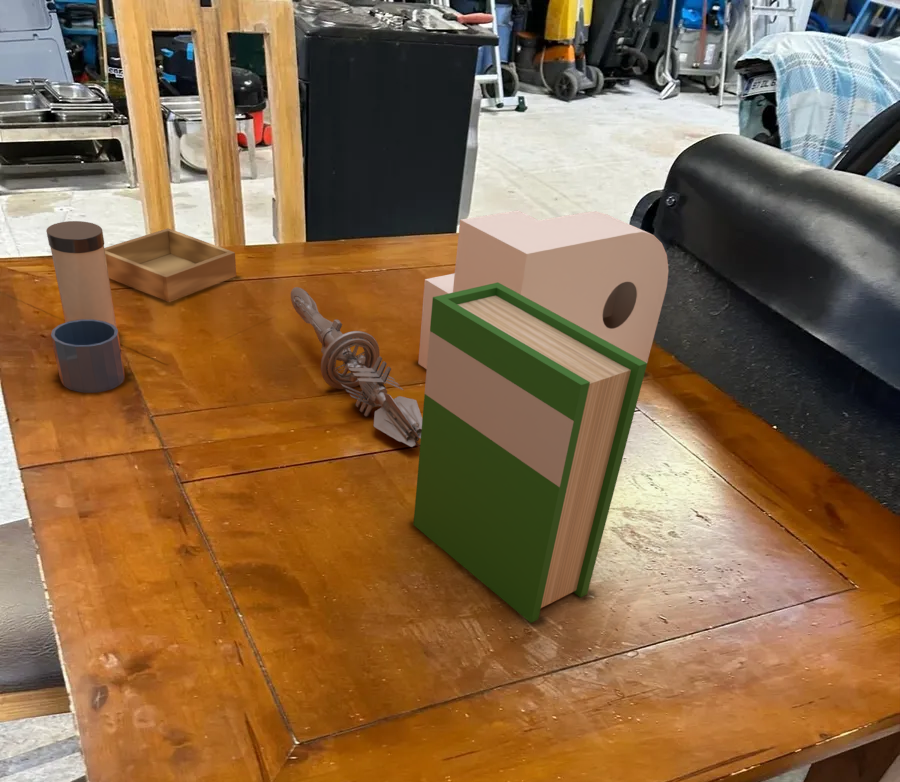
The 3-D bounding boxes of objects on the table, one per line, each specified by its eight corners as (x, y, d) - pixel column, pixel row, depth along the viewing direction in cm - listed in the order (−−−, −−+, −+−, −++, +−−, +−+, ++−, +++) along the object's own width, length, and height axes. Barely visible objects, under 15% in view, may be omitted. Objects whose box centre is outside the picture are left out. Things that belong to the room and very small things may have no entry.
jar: (57, 341, 113) (34, 229, 104) (96, 326, 117) (77, 217, 108) (91, 356, 111) (70, 243, 102) (130, 341, 115) (113, 230, 106)
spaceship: (327, 270, 118) (276, 255, 113) (461, 417, 99) (407, 406, 94) (305, 323, 122) (254, 310, 117) (429, 474, 103) (376, 467, 98)
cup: (48, 380, 105) (37, 332, 101) (96, 360, 110) (88, 313, 106) (90, 400, 103) (80, 352, 99) (137, 379, 108) (131, 332, 104)
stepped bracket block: (558, 328, 131) (585, 181, 118) (643, 376, 122) (683, 223, 108) (418, 364, 118) (430, 204, 104) (501, 422, 108) (526, 253, 95)
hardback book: (586, 596, 84) (647, 363, 69) (530, 624, 81) (581, 385, 65) (468, 504, 94) (497, 282, 78) (413, 526, 90) (432, 297, 75)
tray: (101, 278, 129) (96, 250, 126) (170, 254, 138) (168, 228, 135) (169, 306, 124) (166, 277, 121) (236, 279, 133) (235, 252, 130)
